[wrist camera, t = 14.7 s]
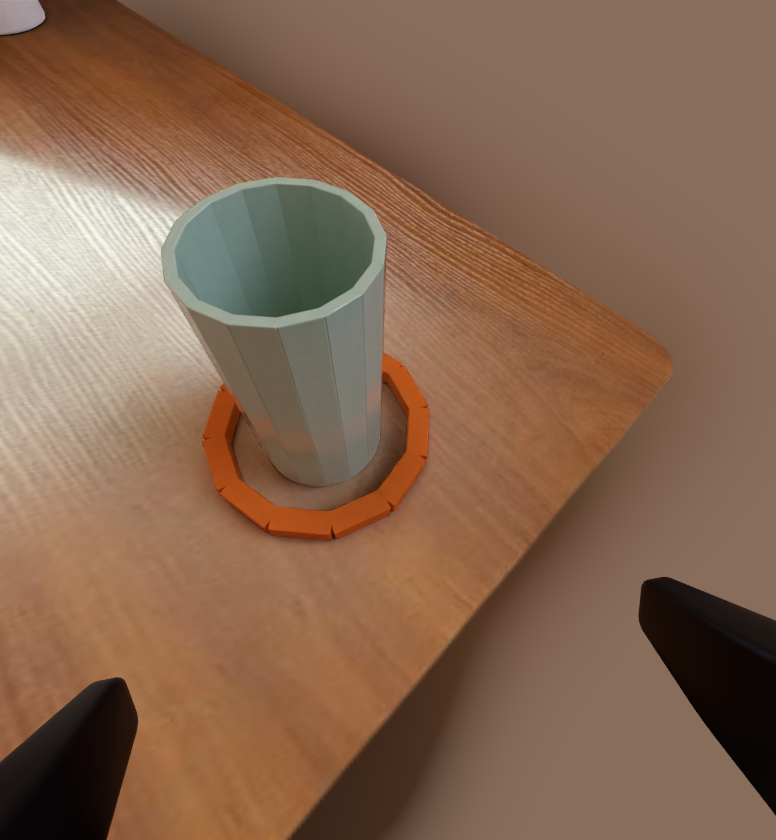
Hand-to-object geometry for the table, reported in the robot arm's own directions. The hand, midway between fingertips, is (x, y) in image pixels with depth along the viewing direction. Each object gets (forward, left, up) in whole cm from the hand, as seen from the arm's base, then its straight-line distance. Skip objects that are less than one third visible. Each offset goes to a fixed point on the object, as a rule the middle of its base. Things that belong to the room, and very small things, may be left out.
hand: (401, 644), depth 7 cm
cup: (+11, +5, -14) cm, 18 cm away
